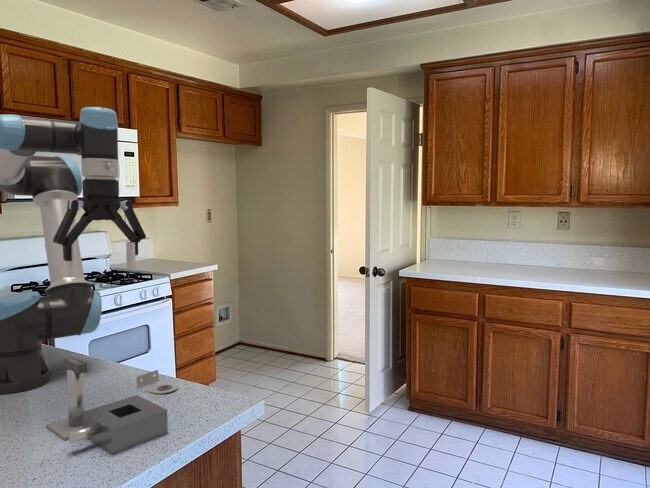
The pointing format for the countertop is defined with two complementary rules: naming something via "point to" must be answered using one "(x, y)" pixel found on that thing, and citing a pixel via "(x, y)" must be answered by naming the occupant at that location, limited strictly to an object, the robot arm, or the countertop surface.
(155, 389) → the bracket
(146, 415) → the block
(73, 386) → the chuck key
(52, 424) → the mat
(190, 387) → the countertop surface
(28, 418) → the countertop surface
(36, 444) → the countertop surface
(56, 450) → the countertop surface
